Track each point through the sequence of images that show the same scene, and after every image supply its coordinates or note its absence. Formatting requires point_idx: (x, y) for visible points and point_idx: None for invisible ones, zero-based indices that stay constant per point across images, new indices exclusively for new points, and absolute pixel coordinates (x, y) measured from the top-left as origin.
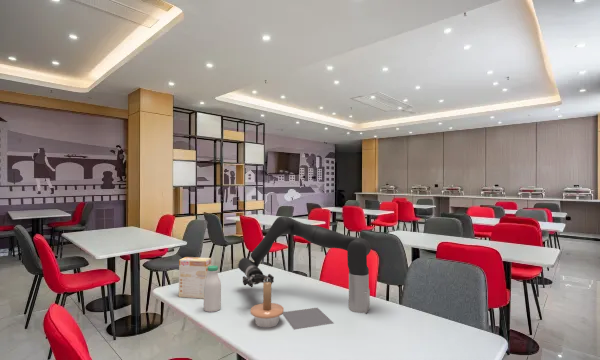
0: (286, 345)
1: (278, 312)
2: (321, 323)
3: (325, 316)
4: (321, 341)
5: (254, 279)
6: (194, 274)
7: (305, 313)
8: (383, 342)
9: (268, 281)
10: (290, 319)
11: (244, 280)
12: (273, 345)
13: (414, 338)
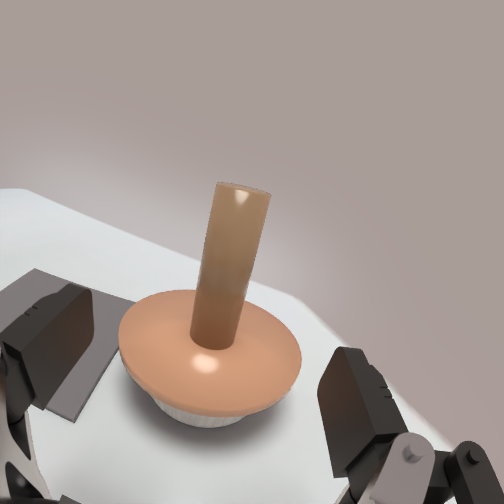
0: None
1: (181, 294)
2: (55, 282)
3: (4, 292)
4: (131, 260)
5: None
6: None
7: None
8: (59, 222)
9: (56, 349)
10: (98, 347)
11: (469, 448)
12: None
13: (24, 211)
